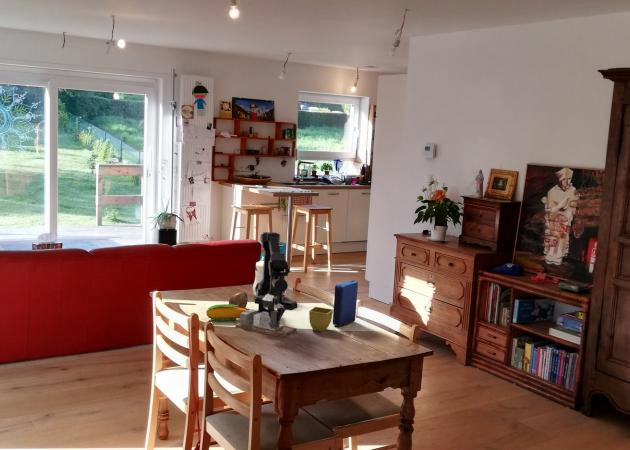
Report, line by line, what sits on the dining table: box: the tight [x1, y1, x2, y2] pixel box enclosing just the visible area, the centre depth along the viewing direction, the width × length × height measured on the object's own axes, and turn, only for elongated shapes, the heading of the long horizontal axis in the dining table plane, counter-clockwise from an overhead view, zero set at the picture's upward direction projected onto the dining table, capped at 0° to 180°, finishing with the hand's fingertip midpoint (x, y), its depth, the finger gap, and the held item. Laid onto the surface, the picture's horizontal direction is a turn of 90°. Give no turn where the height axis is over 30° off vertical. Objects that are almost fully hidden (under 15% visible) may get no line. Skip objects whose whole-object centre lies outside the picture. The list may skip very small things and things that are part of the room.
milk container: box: [252, 260, 287, 298], centre depth 356 cm, size 17×17×18 cm
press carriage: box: [253, 308, 285, 331], centre depth 302 cm, size 8×11×8 cm
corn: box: [205, 303, 248, 322], centre depth 313 cm, size 7×8×20 cm
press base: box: [234, 308, 297, 338], centre depth 303 cm, size 12×24×6 cm, turn 63°
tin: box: [228, 291, 249, 309], centre depth 329 cm, size 15×3×8 cm, turn 158°
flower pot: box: [308, 306, 334, 332], centre depth 306 cm, size 9×9×9 cm
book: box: [332, 279, 359, 327], centre depth 316 cm, size 14×5×20 cm, turn 145°
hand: (274, 321), depth 301 cm, fingers closed on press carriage, 3 cm apart
